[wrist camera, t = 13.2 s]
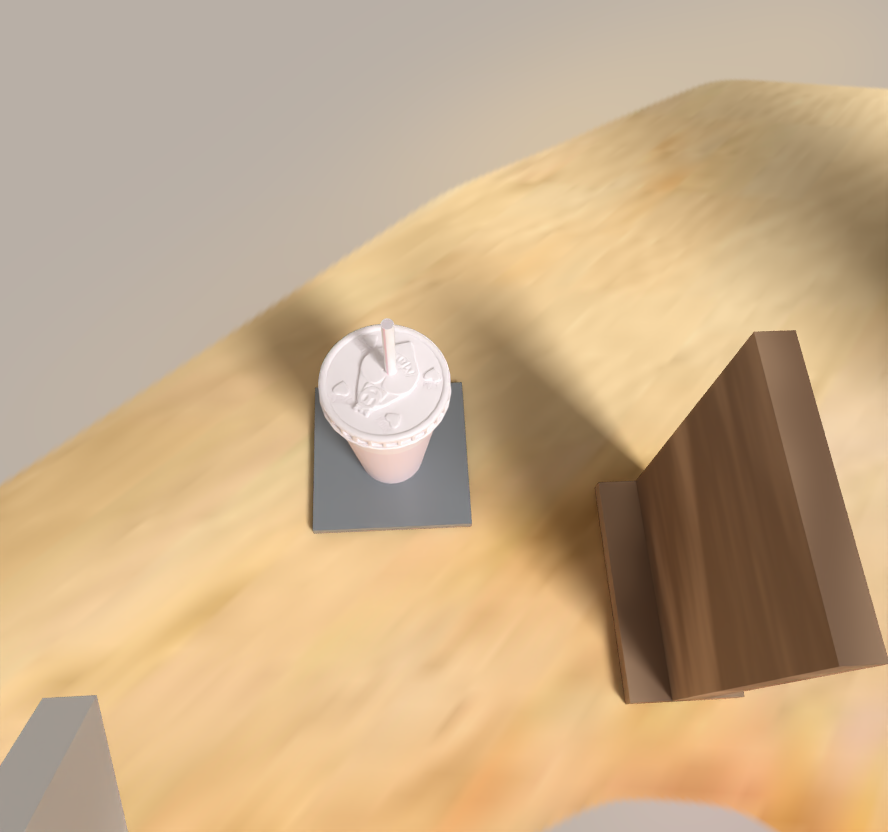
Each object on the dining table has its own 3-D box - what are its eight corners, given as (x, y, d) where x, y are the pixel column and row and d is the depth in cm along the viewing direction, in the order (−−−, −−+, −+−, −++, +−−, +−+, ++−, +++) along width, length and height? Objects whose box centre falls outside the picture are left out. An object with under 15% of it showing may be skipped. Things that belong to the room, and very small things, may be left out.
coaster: (461, 386, 47) (461, 382, 46) (471, 526, 43) (471, 523, 43) (316, 391, 47) (315, 387, 46) (314, 533, 43) (312, 530, 42)
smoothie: (465, 438, 45) (483, 313, 32) (407, 526, 43) (402, 430, 30) (376, 386, 46) (359, 247, 33) (315, 469, 44) (272, 354, 31)
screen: (694, 483, 45) (852, 328, 28) (737, 697, 40) (957, 660, 24) (594, 488, 45) (696, 333, 28) (625, 704, 40) (770, 670, 23)
